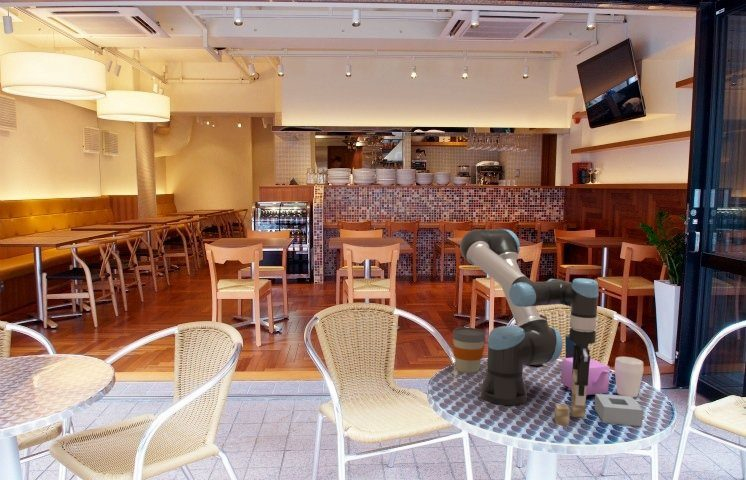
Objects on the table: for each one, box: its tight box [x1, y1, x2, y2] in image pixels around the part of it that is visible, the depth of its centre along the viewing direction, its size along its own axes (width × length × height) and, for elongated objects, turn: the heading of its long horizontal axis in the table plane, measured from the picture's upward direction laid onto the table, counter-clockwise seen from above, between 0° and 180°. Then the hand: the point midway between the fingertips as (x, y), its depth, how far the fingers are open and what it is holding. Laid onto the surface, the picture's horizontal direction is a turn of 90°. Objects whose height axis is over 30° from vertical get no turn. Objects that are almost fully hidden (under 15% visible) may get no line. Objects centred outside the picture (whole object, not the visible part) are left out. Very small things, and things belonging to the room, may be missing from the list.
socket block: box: [594, 393, 644, 427], centre depth 168 cm, size 11×11×5 cm
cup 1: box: [565, 333, 576, 358], centre depth 207 cm, size 7×7×15 cm
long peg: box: [570, 369, 587, 419], centre depth 168 cm, size 4×4×14 cm
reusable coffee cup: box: [452, 326, 486, 374], centre depth 210 cm, size 13×13×15 cm
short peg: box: [554, 403, 571, 426], centre depth 163 cm, size 4×4×5 cm
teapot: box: [560, 357, 611, 398], centre depth 187 cm, size 20×10×12 cm, turn 19°
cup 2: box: [614, 356, 644, 398], centre depth 187 cm, size 9×9×12 cm
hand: (578, 402), depth 169 cm, fingers closed on long peg, 3 cm apart
